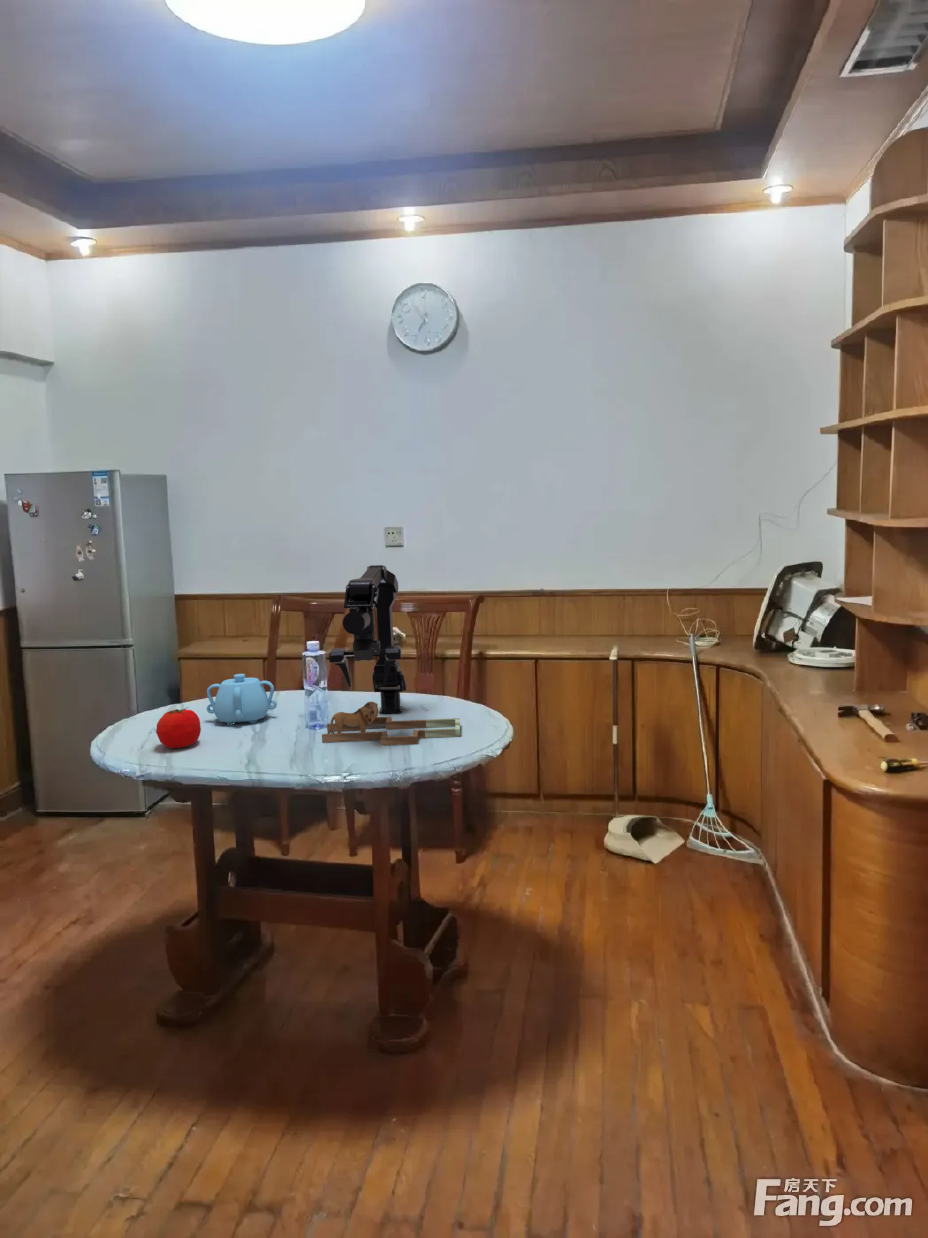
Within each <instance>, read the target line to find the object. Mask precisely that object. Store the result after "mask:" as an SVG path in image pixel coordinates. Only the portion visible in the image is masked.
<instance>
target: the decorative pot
mask: <svg viewBox="0 0 928 1238" xmlns="http://www.w3.org/2000/svg"><path fill="white" fill-rule="evenodd" d="M263 685H266V686H269V689H270V690H269V695H268V694H267V692H266V690H265V688H264V686H263ZM214 688H218V689H217V693H216V695H215V700H214V698H213V696H212V693H211V691H212V689H214ZM274 693H275V686H274V684H273V683H272V682H271V681H268V680H261V681H260V679H259V678H257V677H246V674H245V673H236V674H234V675H233V678H230V679H229V678H228V679H225V680H223V681H222V682H221V683H214V684H211V685H209V687H208V688H207V689H206V696H207V698H208V701H209V703H210V704H208V705H207V707H206V711H207V712H208V714H214V715H215V717H216V718H217V720H218V721H220V722H221V723H225V724H226V723H227V724H232V725H234V724H233V723H235V724H236V723H242V722H249V723H248V724H256V723H258V722H257V721H259V720H261V719H263V718H264V717H265V716H266V715H267V713H268V711H269V710H272V711H273V710H275V709H276V708H277V705H278V704H277V701H275V700H273V696H274ZM271 704H273V705H271ZM211 707H212V709H211ZM255 722H256V723H255Z"/></svg>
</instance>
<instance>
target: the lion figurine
mask: <svg viewBox="0 0 928 1238" xmlns="http://www.w3.org/2000/svg"><path fill="white" fill-rule="evenodd" d="M379 711H380V710H379V707H378V703H377V702H375V701H368V702H366V703H365V704H364V705H363V706H361V707H360V708H358V709H357V710H356V711H354V712H344V711H339V712H336V713H334V714H333V715H332V717H331V719H330V723H329V724H330V728H329V731H328V732H327V733H326V734H333V733H335V732H334V730H335V729H336V728H337V729H338V730H337V732H336V733H342V731H341V729H342V726H343V723H344V724H346V725H348V726H352V727H353V726H360V731H359V732H367V731H366V730H367V729H366V726H367V725H370V724H372V723H373V721H374V720H375V719H376V718H377V717H379V716H378V715H379V714H380V713H379ZM332 724H334V725H333V726H332ZM330 731H331V732H330Z"/></svg>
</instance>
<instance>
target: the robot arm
mask: <svg viewBox="0 0 928 1238" xmlns="http://www.w3.org/2000/svg"><path fill="white" fill-rule="evenodd" d="M344 592H345V593H344V601H343V602H344V603H343V608H344V609H349V612H348V613H346V614H345V615H344V617H343V619H342V627H343V629H344V630H345V632H347V633H348V634H350V635H353V642H352V650H346V647H338V648H337V647H335V648H331V649H330V651H329V653H328V663H333V664H334V666H338V667H339V669H340V670H341V671H342V673H343V675H344V678H345V681H346V683H347V685H348V687H349V688H351V686H352V679H351V674H350V668H349V667H350V666H349V661H348V659H352V658H353V660H354V661H356V662H360V661H372V660H373V659H374V658H376V657H378V660H377V662H376V663H375V665H374V667H373V672H372V684H373V690H374V693H380V708H379V710H378V711H379V713H378V714H395V713H396V714H401V713H402V711H403V705H401V693H403V692H406V691H407V683H406V678H405V676H404V673H403V671H402V670H401V669H402V668H401V664H400V662H399V661H398V660H401V659H402V656H403V655H402V647H401V645H399V644H397V645H395V644H394V623H393V622H394V621H393V605H394V604H395V602H396V599H398V593H399V582H398V579H397V577H396V575H395V574H394V573H393V572H391V571H390V570H388V569H387V566H386V565H383V564H376V565H375V564H374V565H372V564H371V565H369V566H367V567H366V570H365V572H364V573H363V574H362V576H360V577H359V578H354V579H350V580H349V581H348V584H346V586H345V591H344ZM374 608H375V609H376V610H374ZM375 611H376V620H375ZM375 621H376V624H375ZM375 626H376V627H375ZM376 628H377V638H376ZM376 639H377V640H376Z"/></svg>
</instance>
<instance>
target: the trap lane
mask: <svg viewBox="0 0 928 1238" xmlns="http://www.w3.org/2000/svg"><path fill="white" fill-rule="evenodd" d="M333 725H334V723H333V724H332V726H333ZM326 727H327V728H326V730H327V733H328V731H329V728H330V723H327V724H326ZM425 728H426V729H425ZM376 729H377V730H379V729H380V730H381V729H385V731H366V732H360V726H353V727H352V726H348V725H346V724H344V723H343V726H342V729H341V733H337V730H338V729H337V728H336V729H335V730H334V733H333V734H331V731H330V734H327V733H321V742H322V743H323V744H324V743H339V742H341V743H342V742H345V743H346V742H364V741H365V742H366V741H367V742H368V741H371V742H372V741H380V745H381V746H382V747H383V746H401V745H403V746H405V745H407V746H408V745H418V744H419V739H435V738H438V739H439V738H457V737H459V738H460V737H461V718H460V717H458V718H433V719H413V720H412V719H407V720H405V719H404V720H393V716H377V718H376V719H375V720H374V721H373V723H372V724H370V725H367V726H366V730H376ZM401 729H402V730H407V729H413V731H412V735H411V734H410V735H394V736H390V735H389V736H388V730H401Z"/></svg>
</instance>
